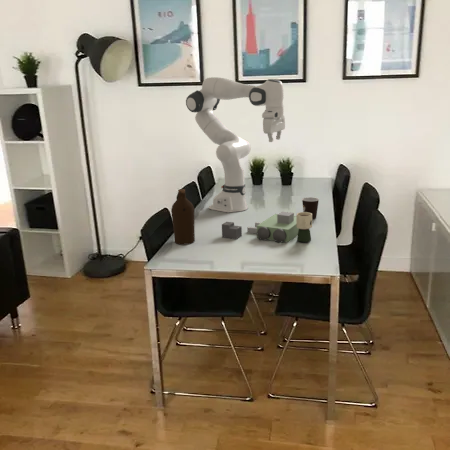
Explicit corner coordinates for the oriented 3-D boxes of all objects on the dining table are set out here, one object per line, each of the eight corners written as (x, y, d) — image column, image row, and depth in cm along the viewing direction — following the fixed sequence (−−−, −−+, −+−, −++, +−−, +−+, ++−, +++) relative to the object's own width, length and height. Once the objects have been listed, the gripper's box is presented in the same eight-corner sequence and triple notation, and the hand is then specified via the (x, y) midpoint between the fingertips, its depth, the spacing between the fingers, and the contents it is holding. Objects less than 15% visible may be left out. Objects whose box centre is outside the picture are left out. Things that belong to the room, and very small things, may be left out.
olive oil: (200, 241, 241) (198, 189, 234) (183, 246, 234) (179, 193, 227) (186, 236, 249) (183, 186, 241) (168, 241, 242) (165, 190, 234)
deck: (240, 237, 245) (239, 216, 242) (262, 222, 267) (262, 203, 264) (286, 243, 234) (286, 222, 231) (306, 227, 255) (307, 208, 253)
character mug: (313, 244, 231) (314, 217, 227) (297, 245, 231) (298, 217, 227) (310, 237, 241) (310, 210, 237) (294, 237, 241) (295, 211, 237)
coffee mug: (318, 220, 267) (318, 201, 264) (301, 219, 269) (301, 201, 266) (318, 214, 278) (319, 196, 275) (302, 213, 280) (302, 195, 277)
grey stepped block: (222, 237, 246) (221, 224, 244) (227, 234, 250) (226, 221, 248) (236, 239, 242) (236, 226, 240) (241, 236, 246) (241, 223, 244)
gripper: (276, 111, 267) (276, 137, 271) (260, 114, 250) (260, 143, 254) (288, 111, 264) (287, 138, 268) (272, 114, 247) (272, 143, 251)
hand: (274, 140), depth 261 cm, fingers open, 8 cm apart
